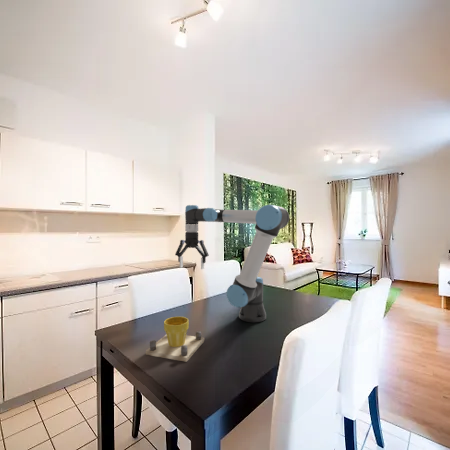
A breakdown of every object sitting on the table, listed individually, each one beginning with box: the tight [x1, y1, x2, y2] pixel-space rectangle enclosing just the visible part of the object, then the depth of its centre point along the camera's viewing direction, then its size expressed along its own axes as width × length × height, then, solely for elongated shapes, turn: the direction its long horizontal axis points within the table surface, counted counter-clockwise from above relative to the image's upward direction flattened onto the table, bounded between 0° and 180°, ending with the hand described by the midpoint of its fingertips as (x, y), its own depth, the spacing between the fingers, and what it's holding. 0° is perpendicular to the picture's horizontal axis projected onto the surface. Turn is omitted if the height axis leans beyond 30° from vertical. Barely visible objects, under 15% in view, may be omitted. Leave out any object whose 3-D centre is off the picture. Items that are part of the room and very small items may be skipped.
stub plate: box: [145, 330, 205, 362], centre depth 107 cm, size 18×18×4 cm
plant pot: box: [163, 316, 190, 347], centre depth 107 cm, size 10×10×10 cm
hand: (191, 268), depth 147 cm, fingers open, 13 cm apart
